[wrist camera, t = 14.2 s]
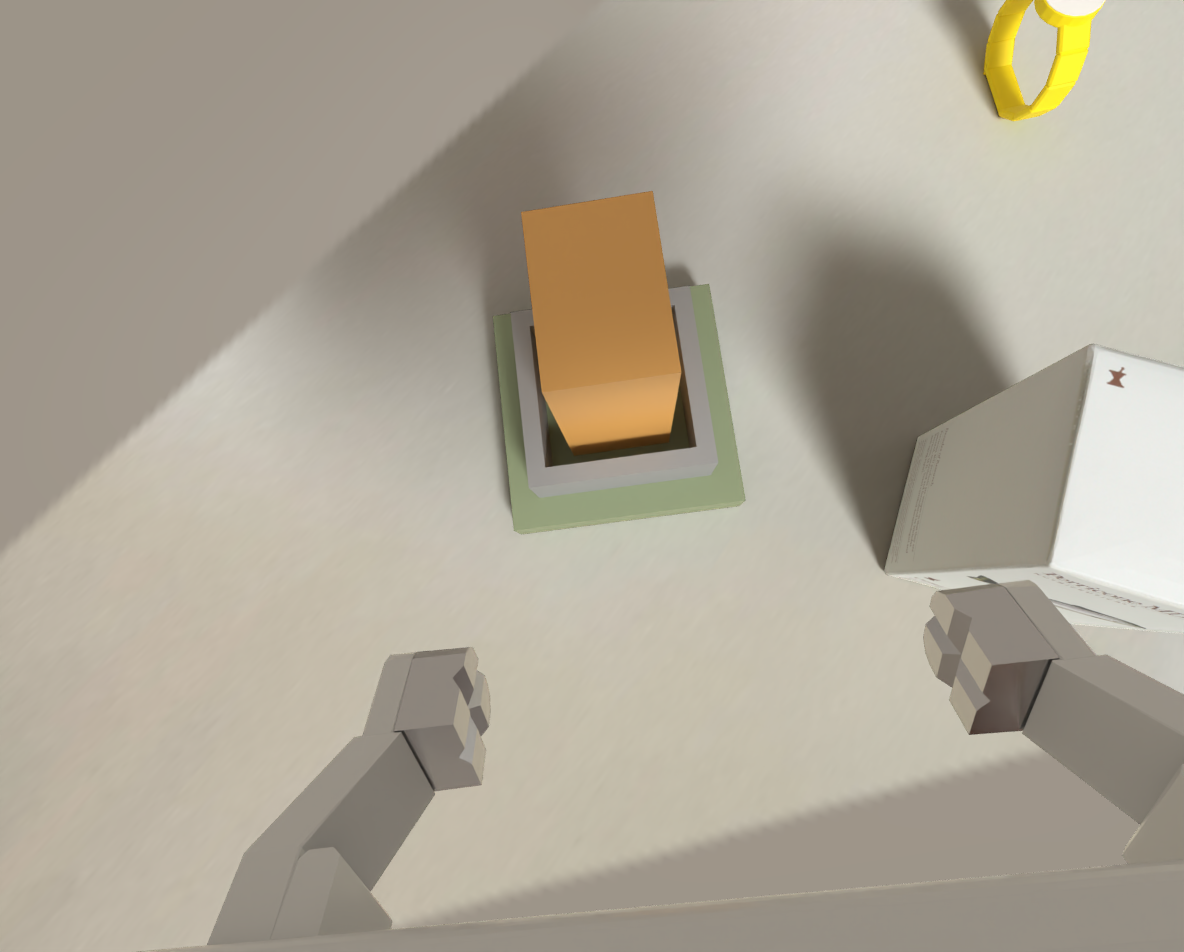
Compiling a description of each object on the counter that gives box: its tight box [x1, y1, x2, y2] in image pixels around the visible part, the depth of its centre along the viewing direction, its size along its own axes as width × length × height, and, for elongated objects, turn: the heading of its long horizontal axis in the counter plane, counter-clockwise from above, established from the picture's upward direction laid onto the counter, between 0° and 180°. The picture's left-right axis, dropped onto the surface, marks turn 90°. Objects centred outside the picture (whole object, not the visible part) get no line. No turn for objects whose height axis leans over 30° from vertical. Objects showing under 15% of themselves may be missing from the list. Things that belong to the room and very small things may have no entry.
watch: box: [983, 0, 1105, 121], centre depth 32 cm, size 6×3×6 cm, turn 10°
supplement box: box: [884, 344, 1184, 634], centre depth 24 cm, size 7×7×13 cm
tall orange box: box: [521, 191, 681, 456], centre depth 26 cm, size 7×5×10 cm
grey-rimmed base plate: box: [493, 284, 745, 534], centre depth 30 cm, size 11×11×5 cm
